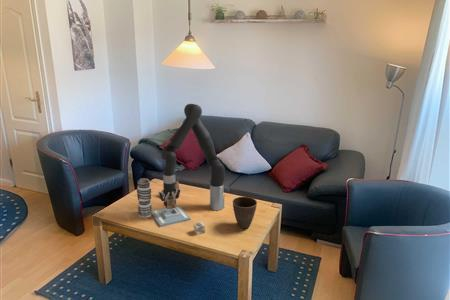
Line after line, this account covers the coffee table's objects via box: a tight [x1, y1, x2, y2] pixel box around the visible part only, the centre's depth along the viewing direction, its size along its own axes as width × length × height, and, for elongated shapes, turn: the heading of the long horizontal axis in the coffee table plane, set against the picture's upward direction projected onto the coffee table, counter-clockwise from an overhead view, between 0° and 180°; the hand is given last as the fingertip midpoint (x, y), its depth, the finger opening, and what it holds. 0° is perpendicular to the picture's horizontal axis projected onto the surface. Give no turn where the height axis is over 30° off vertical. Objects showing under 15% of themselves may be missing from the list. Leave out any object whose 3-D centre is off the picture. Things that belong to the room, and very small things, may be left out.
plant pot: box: [232, 196, 258, 229], centre depth 204 cm, size 15×15×16 cm
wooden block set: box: [160, 180, 180, 198], centre depth 247 cm, size 18×9×10 cm, turn 153°
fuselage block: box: [165, 196, 176, 210], centre depth 213 cm, size 5×5×6 cm
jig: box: [151, 205, 191, 227], centre depth 216 cm, size 20×20×3 cm
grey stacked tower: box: [135, 177, 153, 218], centre depth 214 cm, size 9×9×25 cm
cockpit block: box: [193, 221, 206, 236], centre depth 197 cm, size 5×5×6 cm
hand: (169, 205), depth 214 cm, fingers closed on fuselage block, 5 cm apart
